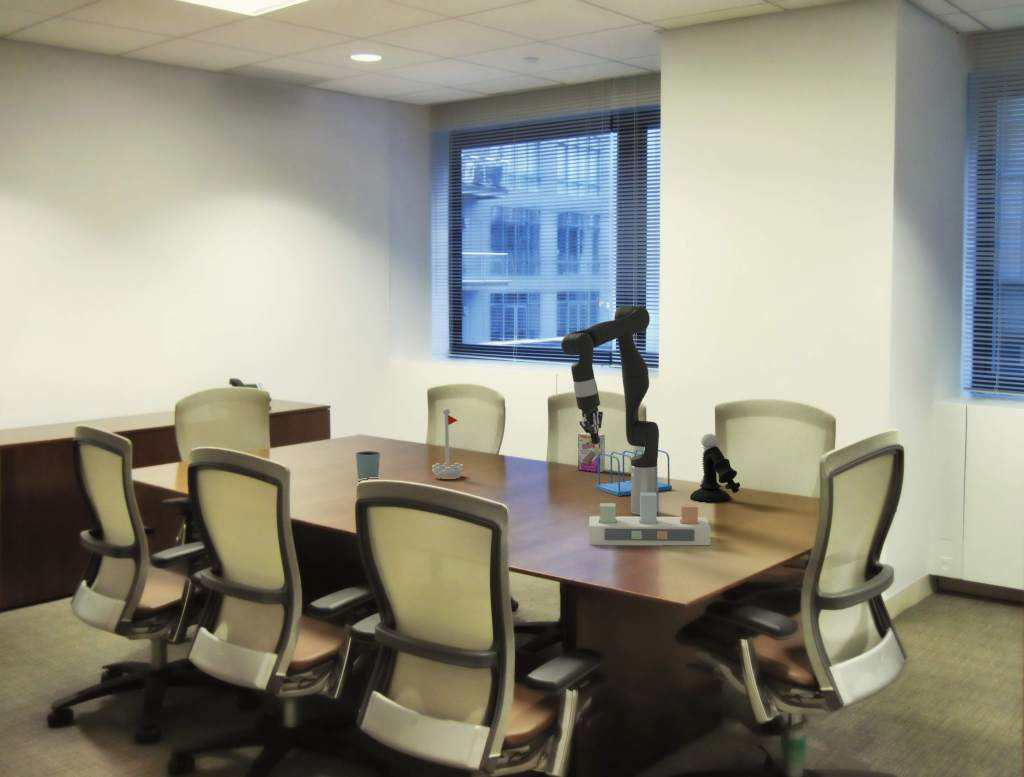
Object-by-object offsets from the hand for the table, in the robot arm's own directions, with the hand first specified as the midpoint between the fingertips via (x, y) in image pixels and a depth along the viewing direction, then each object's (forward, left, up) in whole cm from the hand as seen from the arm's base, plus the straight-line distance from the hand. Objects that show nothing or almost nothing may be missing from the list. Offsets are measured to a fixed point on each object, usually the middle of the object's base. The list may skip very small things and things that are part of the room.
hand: (596, 443), depth 343 cm
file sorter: (-60, -40, -30) cm, 79 cm away
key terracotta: (-14, +28, -28) cm, 42 cm away
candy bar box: (-76, -81, -30) cm, 115 cm away
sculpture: (-67, -4, -30) cm, 74 cm away
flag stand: (-21, -113, -30) cm, 119 cm away
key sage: (+4, +10, -28) cm, 30 cm away
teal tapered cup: (+8, -130, -30) cm, 133 cm away
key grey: (-5, +19, -25) cm, 31 cm away
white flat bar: (-5, +19, -30) cm, 36 cm away
